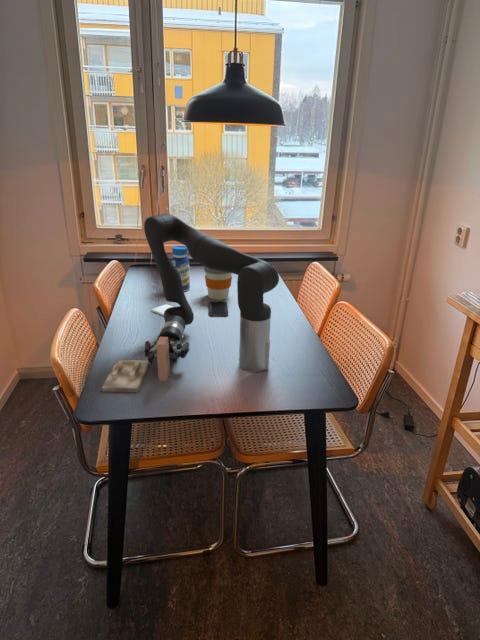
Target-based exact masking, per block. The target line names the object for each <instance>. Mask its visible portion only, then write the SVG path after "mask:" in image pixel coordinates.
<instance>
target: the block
mask: <svg viewBox="0 0 480 640" xmlns="http://www.w3.org/2000/svg"><path fill="white" fill-rule="evenodd" d="M157 339H158V338H157ZM156 346H157V356H156V361H157V373H158V374H157V376H158V377H157V378H158V381H166V382H167V381H168V379H169V376H170V374H171V370H170V369H171V367H170V366H171V365H170V353H169V344H168V337H159V339H158V342H157V344H156Z"/></svg>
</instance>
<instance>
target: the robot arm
mask: <svg viewBox="0 0 480 640" xmlns="http://www.w3.org/2000/svg"><path fill="white" fill-rule="evenodd" d="M143 225H144V226H143V229H144V234H145V238H146V241H147V244H148V247H149V250H150V252H151V255H152V257H153V260H154V263H155V265H156V267H157V270H158V273H159V276H160V280H161V286H162V291H163V296H164V299H165V301H166V302H169V303H176V304H178V305H179V306H173V307H171V308H168V309H166V310H165V312H164V316H163V319H164V325H163V326H162V328H161V330H160V332H159V335H158V336H157V339H156V340H155V341H154V342H153V343H151V342H150V341H149V340H147V341H145V343H144V357H146V358H147V361H148V362H149V365H150V364H151V365H153V363H154V360H155V359H156V358H157V346H156V344H157V342H158V339H159V337H168V344H169V354H171V358H170V359H171V361H170V362H171V365H175V363H177V362H178V359H179V358H181V359H185V358H186V356H187V355H188V353H189V352H190V342H189V341H186V342H185V343H182V341H183V338H184V334H185V333H184V332H185V330H186V326H187V325H188V326H189V325H190V324H192V323H193V321H194V319H195V315H194V311H193V308H192V307H191V306H190V304H189V302H188V300H187V297H186V294H185V291H184V290H183V284H182V280H181V276H180V274H179V272H178V270H177V269H176V268H175V266H174V265H173V264H172V263H171V260H170V258H169V257H168V255H167V253H166V249H165V243H167V242H171V241H174V242H178V243H180V244H181V245H182V246H186V247H187V253H188V254H189V256H190V257H191V259H192V260H193V261H195V262H196V263H198V264H200V265H202V266H204V267H208V268H210V269H213V270H218V271H223V272H229V273H232V274H233V275H237V279H236V280H237V281H236V283H237V285H236V286H237V290H236V291H237V305H238V310H239V312H240V313H239V316H240V317H239V319H240V320H239V321H240V322H239V346H238V347H239V351H238V352H239V353H238V354H239V355H238V357H239V358H238V365H239V368H240V369H242V370H243V371H246V372H249V373H260V372H263V371H269V368H270V367H269V365H270V351H271V350H270V347H271V346H270V345H271V342H270V341H271V340H270V337H271V332H270V331H271V320H272V319H271V317H272V316H271V315H272V307H271V306H270V305H269V304H267V303H265V302H264V294H265V293H266V294H267V293H268V292H271V291H272V290H274V289H275V288H276V287H277V286H278V285H279V281H280V277H279V276H280V275H279V273H278V270H277V268H276V267H274V265H272V264H271V263H270V262H268V261H266V260H263V259H260V258H257V257H255V256H251V255H249V254H247V253H244V252H242V251H240V250H238V249H236V248H234V247H232V246H231V245H228V244H226V243H224V242H223V241H222V240H221V241H220V240H219V239H217V238H215V237H213V236H211V235H209V234H207V233H204V232H202V231H201V230H198V229H196V228H194V227H192V226H191V225H189V224H188V223H186V222H185V221H184V220H183V219H180V218H179V217H177V216H175V215H173V214H171V213H162V214H157V215H152V216H148V217H147V218H146V219H145V221H144V224H143Z"/></svg>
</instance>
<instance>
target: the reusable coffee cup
mask: <svg viewBox="0 0 480 640" xmlns="http://www.w3.org/2000/svg"><path fill="white" fill-rule="evenodd" d="M203 270H204V273H205V275H204V279H205V287H206V288H207V294H208V298H210V299H212V300H215V301H217V300H218V301H221V300H226V299H227V298H229V294H230V288H231V287H232V280H233V279H232V278H233V276H232V274H233V273H229V272H223V271H218V270H213V269H210V268H208V267H205V266H204V269H203Z"/></svg>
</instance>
